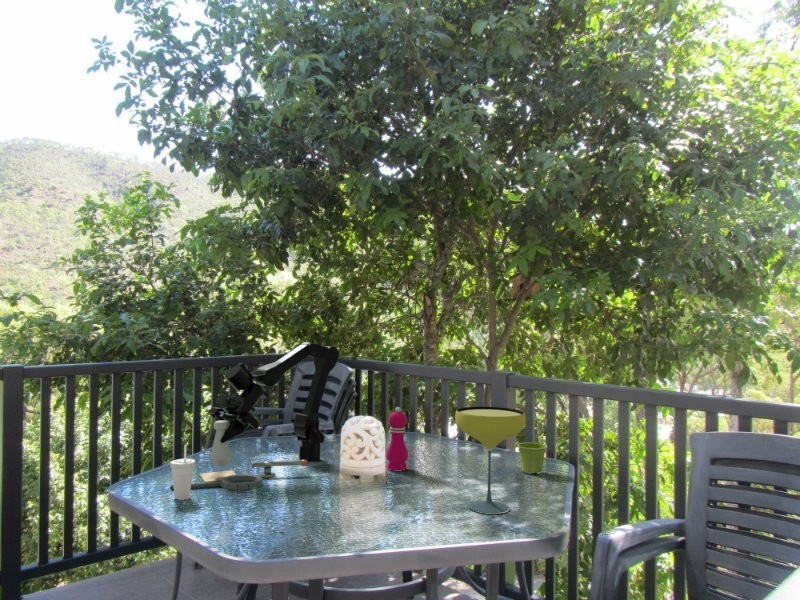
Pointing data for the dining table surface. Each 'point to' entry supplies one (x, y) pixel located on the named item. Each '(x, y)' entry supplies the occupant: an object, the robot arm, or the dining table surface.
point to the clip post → (267, 473)
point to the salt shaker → (220, 445)
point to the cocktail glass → (490, 439)
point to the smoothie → (182, 476)
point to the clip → (278, 463)
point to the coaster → (215, 476)
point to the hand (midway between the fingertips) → (217, 441)
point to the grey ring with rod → (234, 486)
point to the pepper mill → (397, 441)
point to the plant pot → (532, 456)
